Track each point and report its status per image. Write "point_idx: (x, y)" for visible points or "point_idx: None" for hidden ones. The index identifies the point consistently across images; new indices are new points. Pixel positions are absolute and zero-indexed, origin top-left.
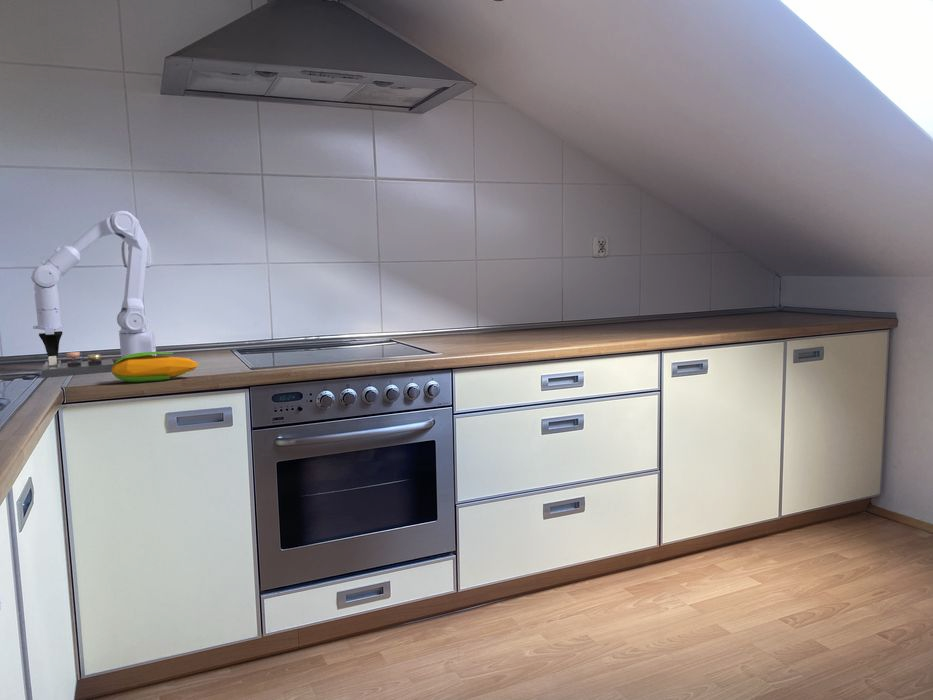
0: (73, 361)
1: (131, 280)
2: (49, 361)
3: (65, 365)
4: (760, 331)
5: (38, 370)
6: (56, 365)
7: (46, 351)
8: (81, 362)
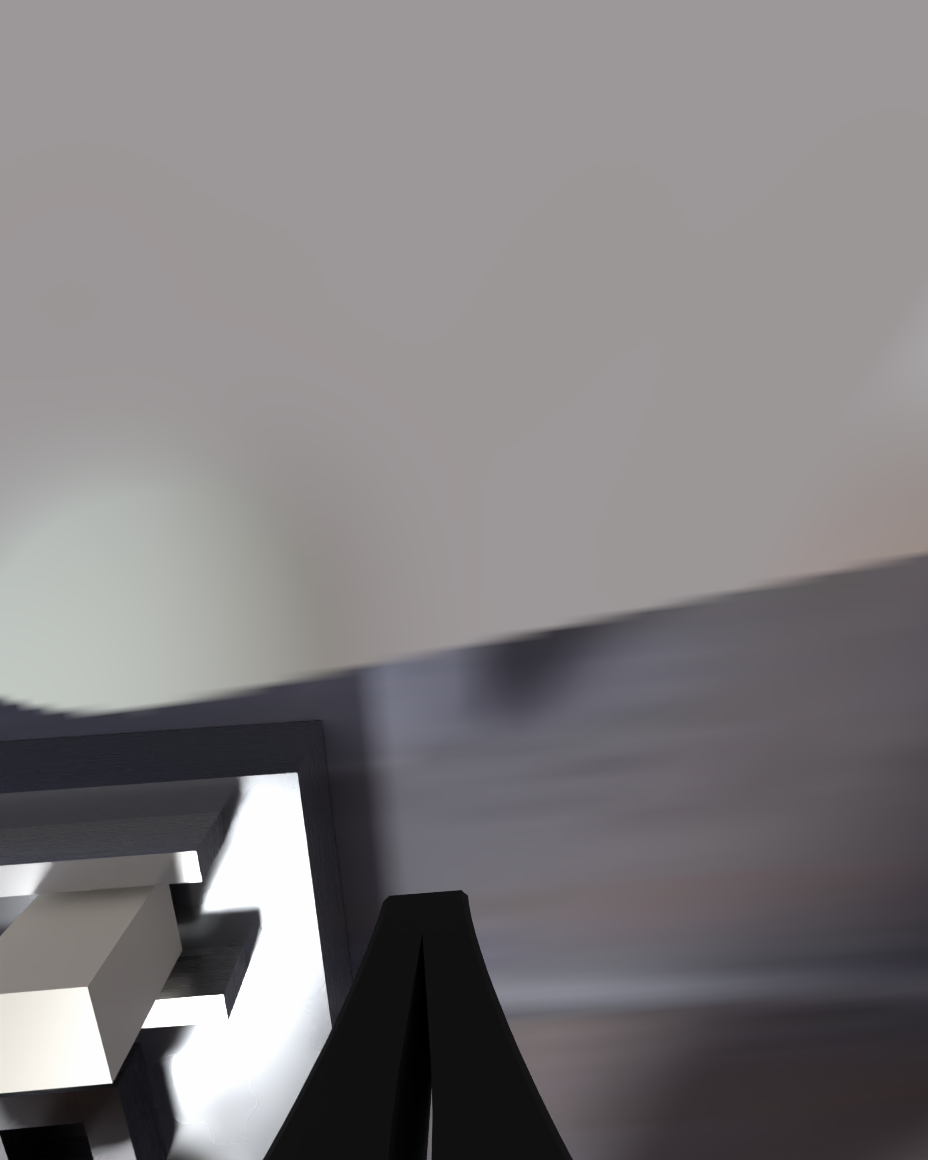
0: (102, 1147)
1: None
2: (13, 934)
3: None
4: None
5: (509, 646)
6: None
7: (344, 1001)
8: (263, 1152)
